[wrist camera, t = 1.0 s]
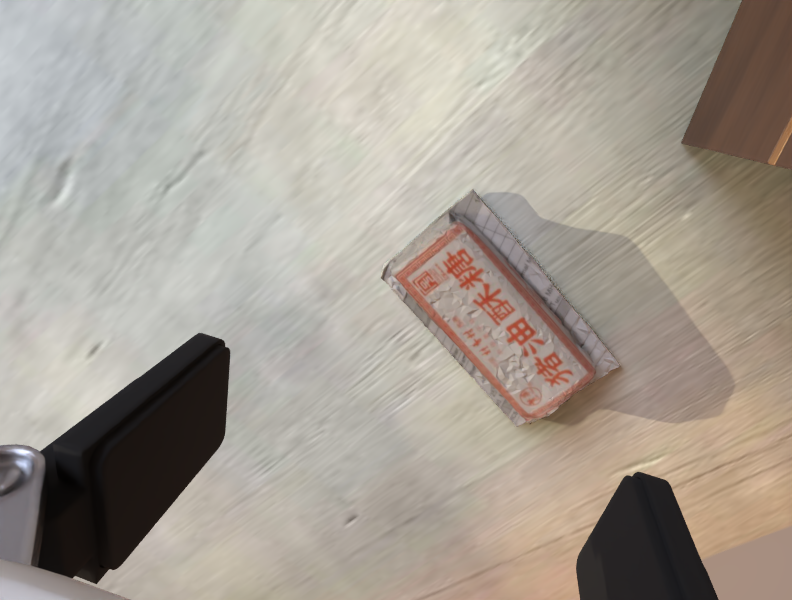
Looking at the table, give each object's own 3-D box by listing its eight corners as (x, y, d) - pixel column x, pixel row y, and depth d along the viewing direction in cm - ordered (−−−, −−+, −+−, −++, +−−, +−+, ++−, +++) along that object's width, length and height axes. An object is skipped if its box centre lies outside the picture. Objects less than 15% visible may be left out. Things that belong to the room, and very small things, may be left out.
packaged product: (363, 287, 34) (468, 197, 30) (379, 266, 39) (473, 186, 35) (517, 454, 37) (633, 393, 33) (516, 417, 41) (619, 359, 37)
